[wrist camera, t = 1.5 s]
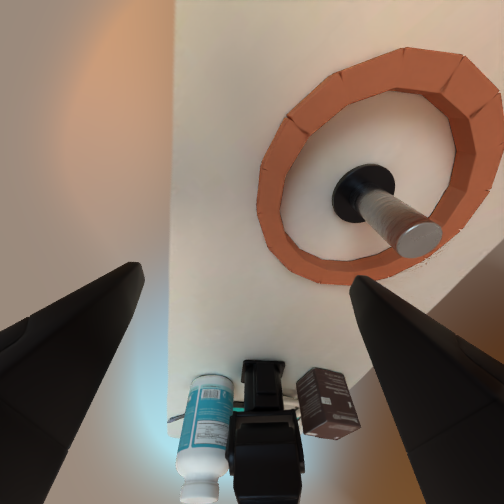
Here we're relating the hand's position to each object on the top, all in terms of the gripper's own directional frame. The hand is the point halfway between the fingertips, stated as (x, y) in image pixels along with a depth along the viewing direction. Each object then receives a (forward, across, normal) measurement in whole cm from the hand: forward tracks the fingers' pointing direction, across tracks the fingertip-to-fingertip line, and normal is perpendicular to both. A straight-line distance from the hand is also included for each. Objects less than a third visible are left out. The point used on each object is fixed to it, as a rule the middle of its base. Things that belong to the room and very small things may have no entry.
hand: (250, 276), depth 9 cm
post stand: (+11, -10, 0) cm, 15 cm away
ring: (+11, -10, 0) cm, 15 cm away
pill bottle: (+11, +4, +34) cm, 36 cm away
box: (+11, -14, +32) cm, 37 cm away
